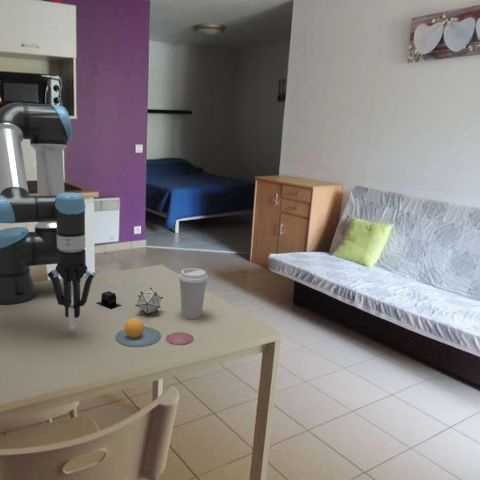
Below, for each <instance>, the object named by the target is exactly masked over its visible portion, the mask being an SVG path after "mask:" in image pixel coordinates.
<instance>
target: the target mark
mask: <svg viewBox="0 0 480 480" xmlns="http://www.w3.org/2000/svg"><path fill="white" fill-rule="evenodd" d="M161 339H162V334H161V332H160V331H158V329H155V328H151V327H147V326H144V330H143V333H142V334H141V335H140V336H139V337H136V338H132V337H129V336H128V335H127V334H126V333H125V328H124V329H122V330H120V331H119V332H117V333H116V335H115V340H116V342H117V343H119V344H120V345H123V346H126V347H132V348H140V347H141V348H143V347H148V346H152V345H154V344H156V343H158V342H159V341H160V340H161Z"/></svg>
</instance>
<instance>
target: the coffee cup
mask: <svg viewBox="0 0 480 480" xmlns="http://www.w3.org/2000/svg"><path fill="white" fill-rule="evenodd" d="M177 279H178V280H179V288H180V289H179V290H180V304H181V305H180V306H181V316H182V318H185V319H187V320H196V319H200V318H201V317H202V314H203V307H204V299H205V293H206V292H205V291H206V285H207V281H208V280H209V276H208V274H207V273H206V270H204V269H201V268H197V267H195V268H194V267H193V268H192V267H190V268H188V267H187V268H184V269H181V272H180V273H179V274H178V277H177Z"/></svg>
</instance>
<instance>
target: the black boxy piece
mask: <svg viewBox="0 0 480 480" xmlns="http://www.w3.org/2000/svg"><path fill="white" fill-rule="evenodd" d="M116 295H117V293H115V292H112V291H109V290H108V291H105V292H102V293H101V295H100V296H101V300H100V301H97V302H96V303H95V304H97V305H99V306H102V307H103V308H107V309H110V310H114V309H116V308H119V307H122V306H123V304H119V303H118V302H117V296H116Z"/></svg>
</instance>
